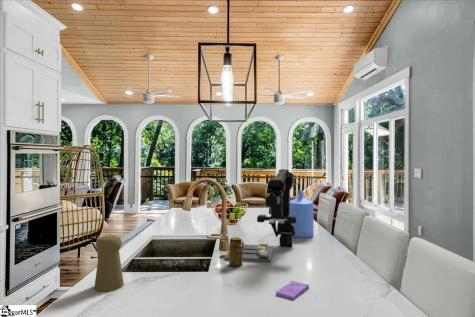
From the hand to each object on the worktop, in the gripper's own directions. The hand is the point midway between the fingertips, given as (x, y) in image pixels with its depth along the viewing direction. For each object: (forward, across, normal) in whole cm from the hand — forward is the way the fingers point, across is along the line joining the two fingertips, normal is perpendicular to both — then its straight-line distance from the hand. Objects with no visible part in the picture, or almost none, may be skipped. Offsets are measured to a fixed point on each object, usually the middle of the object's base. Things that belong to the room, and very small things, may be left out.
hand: (276, 236), depth 152 cm
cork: (+10, +60, +46) cm, 77 cm away
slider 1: (+9, +8, -7) cm, 13 cm away
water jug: (+11, -12, -49) cm, 51 cm away
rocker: (+7, +22, -11) cm, 25 cm away
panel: (+10, +14, -4) cm, 17 cm away
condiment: (+11, +18, +14) cm, 25 cm away
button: (+8, +6, +5) cm, 11 cm away
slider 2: (+9, +8, 0) cm, 11 cm away
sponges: (+11, -9, +38) cm, 41 cm away
